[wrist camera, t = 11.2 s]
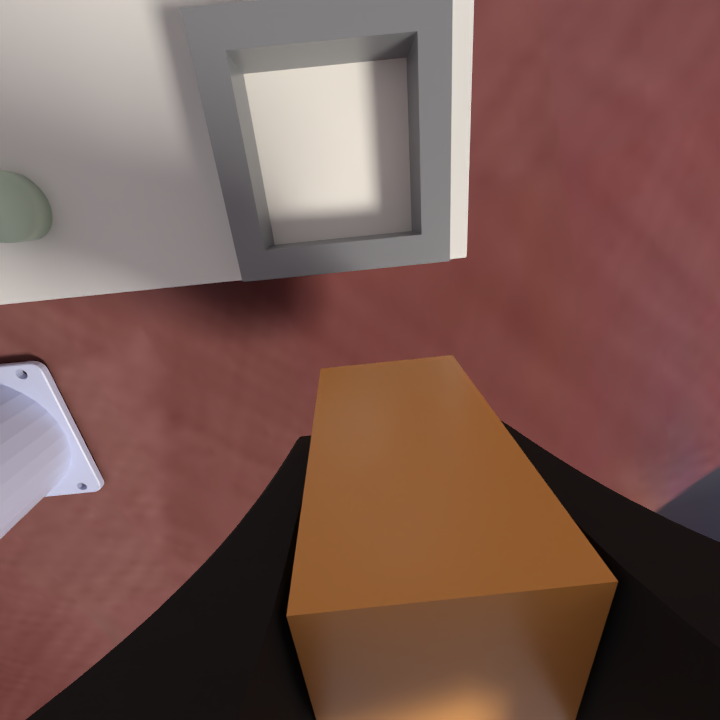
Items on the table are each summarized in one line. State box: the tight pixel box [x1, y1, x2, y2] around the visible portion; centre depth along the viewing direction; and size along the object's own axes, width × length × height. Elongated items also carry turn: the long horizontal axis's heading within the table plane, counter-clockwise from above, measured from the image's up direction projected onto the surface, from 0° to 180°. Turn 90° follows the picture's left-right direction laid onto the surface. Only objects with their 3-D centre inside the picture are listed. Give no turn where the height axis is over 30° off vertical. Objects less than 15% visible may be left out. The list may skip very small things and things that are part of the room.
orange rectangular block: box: [286, 355, 618, 720], centre depth 8 cm, size 4×4×7 cm
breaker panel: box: [0, 0, 474, 305], centre depth 11 cm, size 20×16×4 cm
